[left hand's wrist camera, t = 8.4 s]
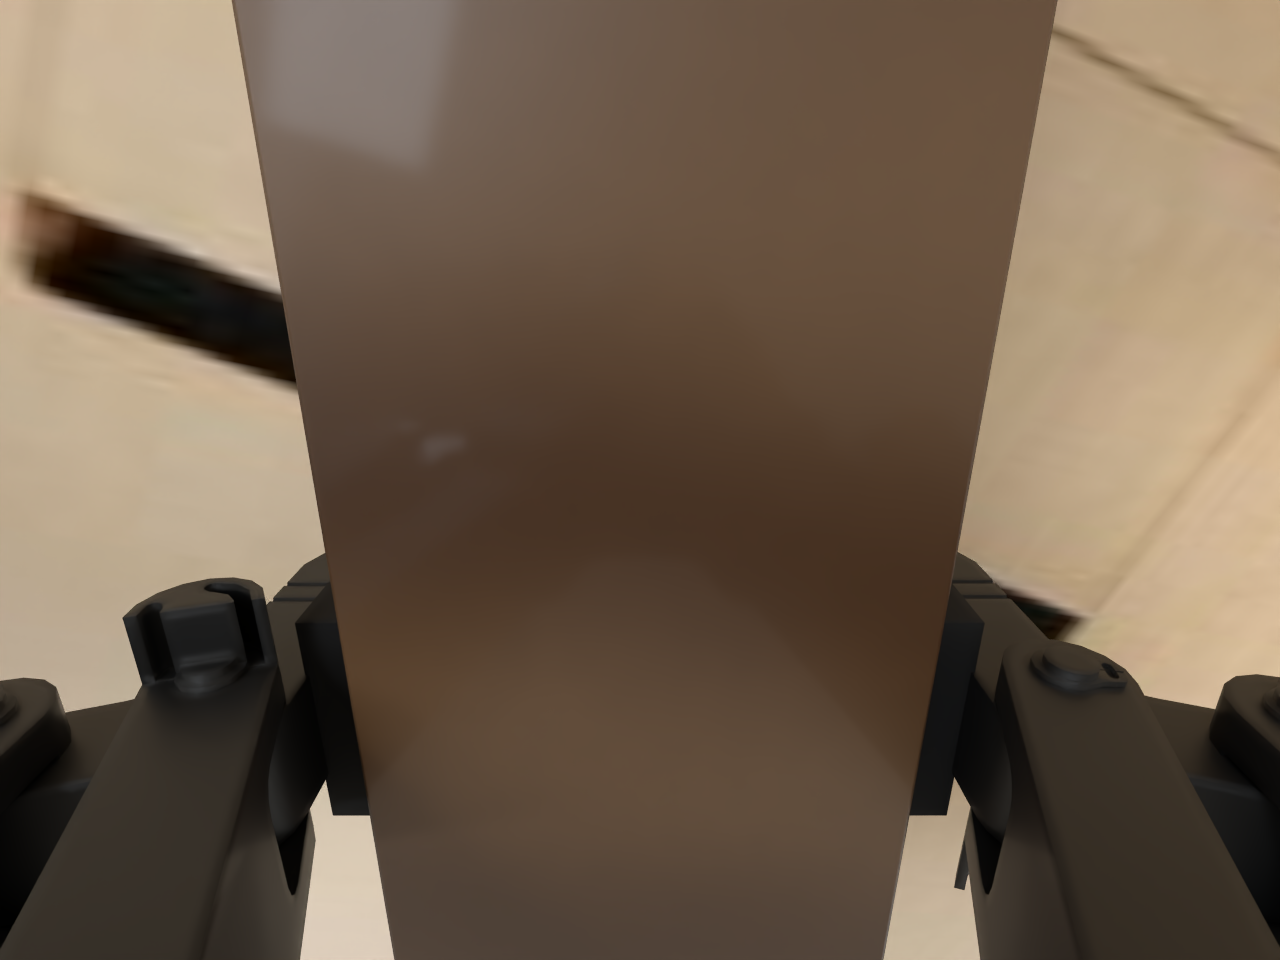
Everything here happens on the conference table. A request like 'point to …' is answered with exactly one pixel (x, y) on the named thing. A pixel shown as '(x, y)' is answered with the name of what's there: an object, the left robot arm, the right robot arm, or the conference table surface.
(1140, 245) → the conference table surface
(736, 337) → the post
